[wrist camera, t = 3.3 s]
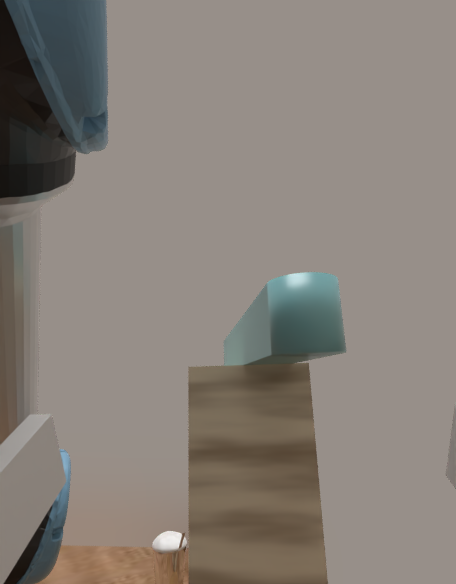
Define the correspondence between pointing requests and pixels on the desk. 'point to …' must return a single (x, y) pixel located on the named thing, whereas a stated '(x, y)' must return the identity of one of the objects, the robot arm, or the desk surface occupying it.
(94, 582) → the desk surface
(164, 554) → the milkshake
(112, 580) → the desk surface
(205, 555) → the stand
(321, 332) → the teal rounded-top bar
